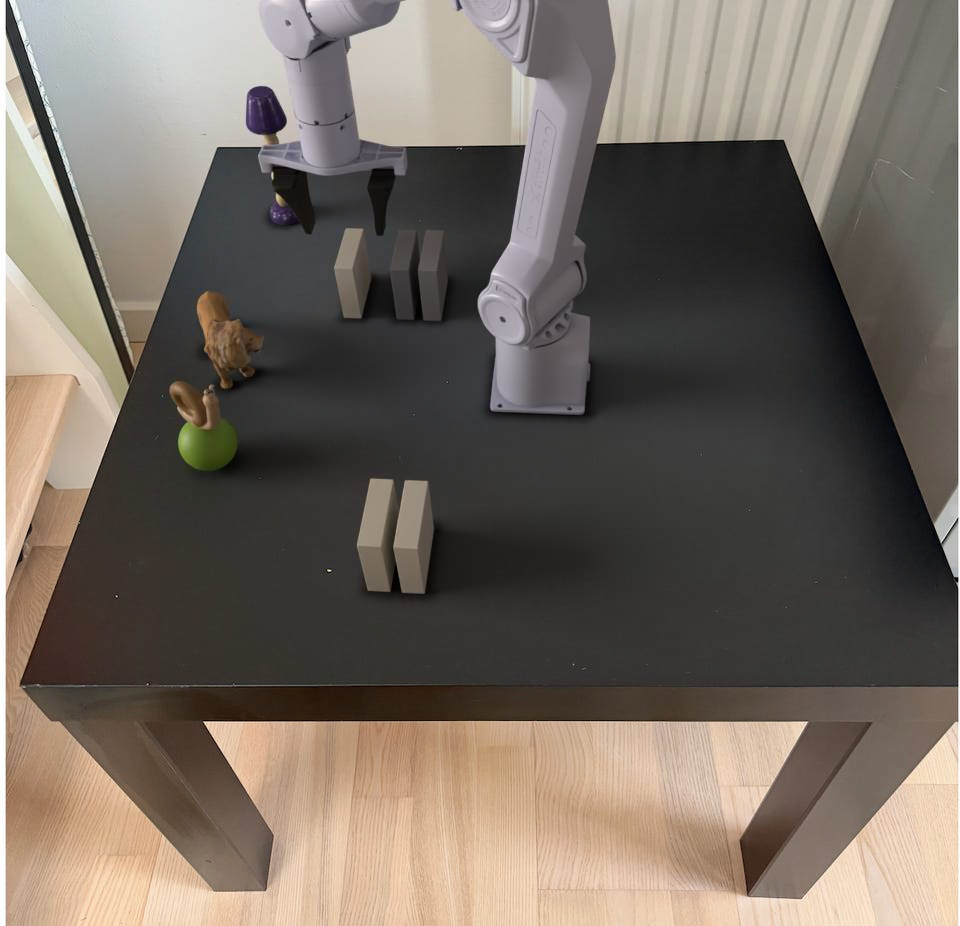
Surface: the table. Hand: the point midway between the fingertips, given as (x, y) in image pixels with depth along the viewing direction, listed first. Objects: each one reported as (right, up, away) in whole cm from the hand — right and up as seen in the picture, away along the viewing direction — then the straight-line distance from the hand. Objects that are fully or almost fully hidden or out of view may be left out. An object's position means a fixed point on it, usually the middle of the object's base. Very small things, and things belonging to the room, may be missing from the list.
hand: (345, 229), depth 96 cm
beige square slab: (0, -6, +7) cm, 9 cm away
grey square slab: (+6, -6, +7) cm, 11 cm away
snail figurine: (-11, -25, -8) cm, 28 cm away
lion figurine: (-12, -14, +1) cm, 19 cm away
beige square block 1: (+6, -33, -15) cm, 37 cm away
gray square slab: (+9, -6, +7) cm, 13 cm away
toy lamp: (-10, +6, +18) cm, 21 cm away
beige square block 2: (+9, -33, -16) cm, 38 cm away
